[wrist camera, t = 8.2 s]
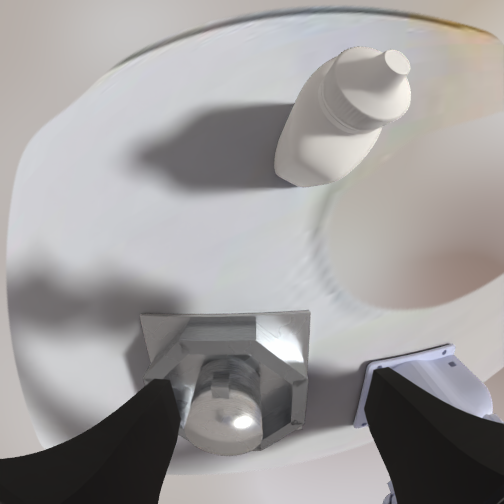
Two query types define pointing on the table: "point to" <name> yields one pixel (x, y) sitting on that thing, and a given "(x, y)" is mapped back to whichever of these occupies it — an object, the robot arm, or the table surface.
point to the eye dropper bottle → (341, 115)
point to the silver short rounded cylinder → (225, 409)
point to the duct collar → (239, 348)
